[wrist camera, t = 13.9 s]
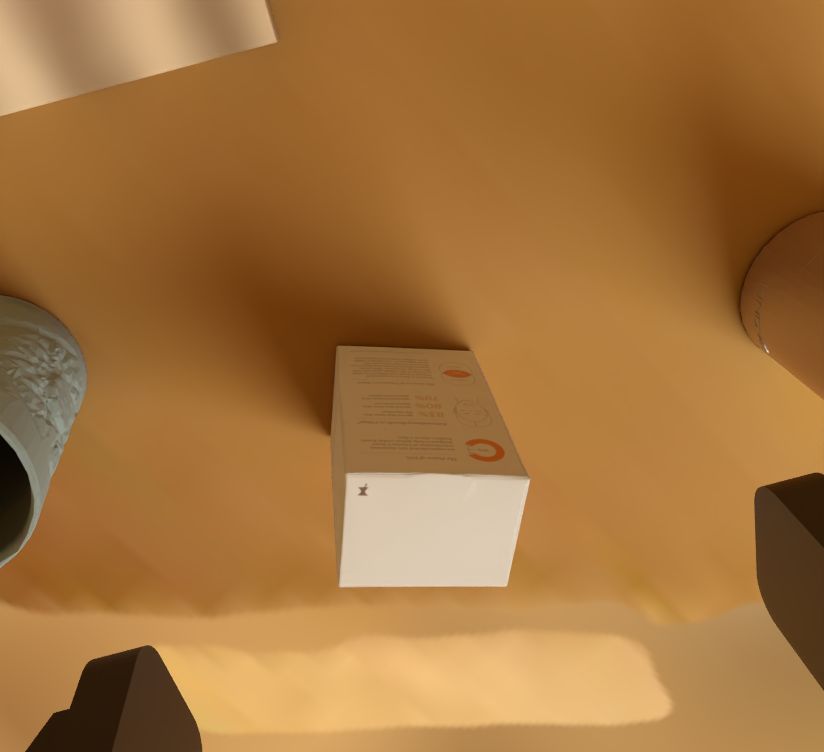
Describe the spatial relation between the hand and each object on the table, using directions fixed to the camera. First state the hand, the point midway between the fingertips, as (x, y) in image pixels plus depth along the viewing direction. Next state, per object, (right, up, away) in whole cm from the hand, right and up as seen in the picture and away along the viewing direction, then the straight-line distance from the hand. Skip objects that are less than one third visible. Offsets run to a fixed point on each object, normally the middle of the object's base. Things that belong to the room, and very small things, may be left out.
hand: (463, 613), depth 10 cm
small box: (-1, +2, +35) cm, 35 cm away
